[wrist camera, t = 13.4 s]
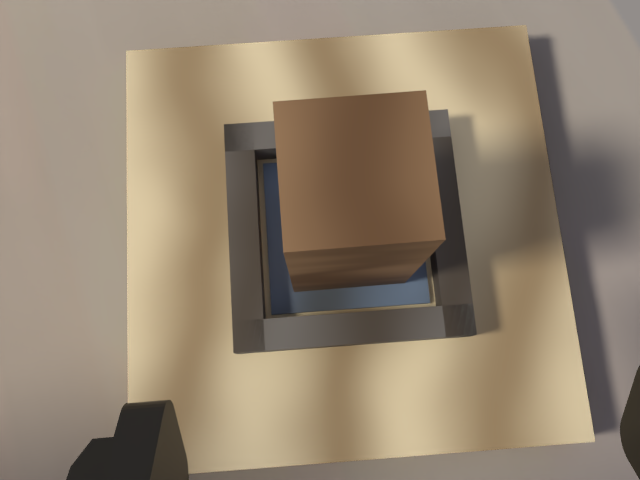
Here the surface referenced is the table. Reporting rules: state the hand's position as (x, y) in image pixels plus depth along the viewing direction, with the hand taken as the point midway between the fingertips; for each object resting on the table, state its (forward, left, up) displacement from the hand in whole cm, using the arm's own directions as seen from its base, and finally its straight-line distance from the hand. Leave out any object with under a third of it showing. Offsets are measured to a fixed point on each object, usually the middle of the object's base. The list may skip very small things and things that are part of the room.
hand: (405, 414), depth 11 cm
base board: (0, +6, -15) cm, 16 cm away
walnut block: (0, +6, -13) cm, 15 cm away
